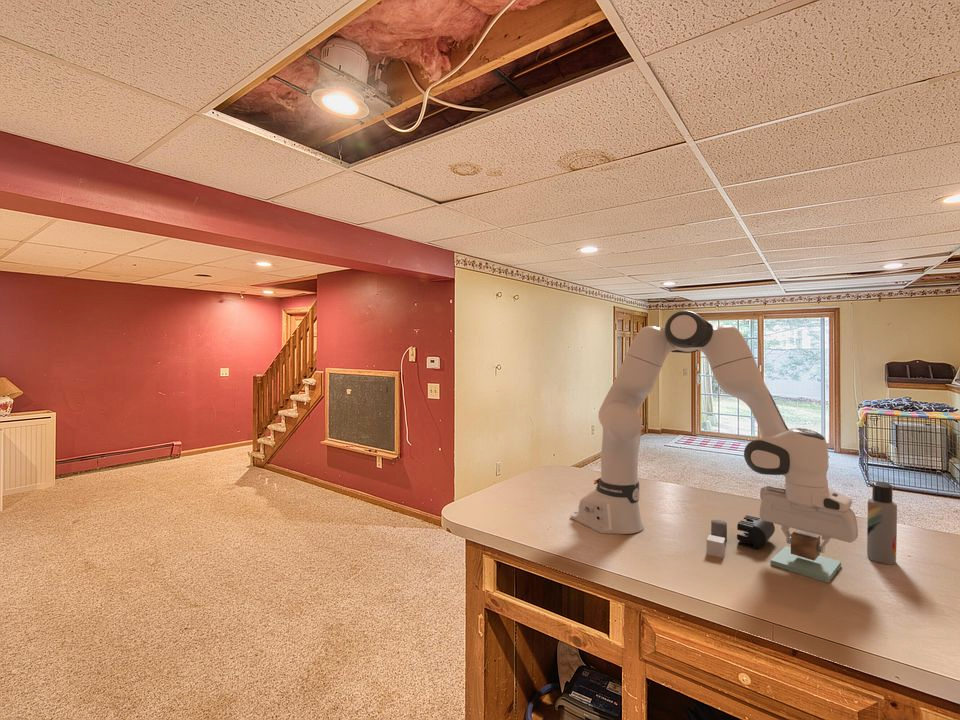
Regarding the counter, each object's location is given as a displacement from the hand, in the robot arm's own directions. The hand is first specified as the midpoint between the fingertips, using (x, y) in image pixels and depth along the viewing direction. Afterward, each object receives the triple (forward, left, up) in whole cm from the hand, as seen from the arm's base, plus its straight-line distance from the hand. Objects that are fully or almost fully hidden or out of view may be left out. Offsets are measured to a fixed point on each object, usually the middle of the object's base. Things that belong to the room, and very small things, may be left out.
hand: (805, 547), depth 116 cm
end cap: (-13, +5, -5) cm, 15 cm away
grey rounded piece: (-21, 0, -5) cm, 21 cm away
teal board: (0, 0, -5) cm, 5 cm away
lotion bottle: (+12, +18, -5) cm, 22 cm away
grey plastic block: (-18, -9, -5) cm, 21 cm away
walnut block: (0, 0, -2) cm, 2 cm away
